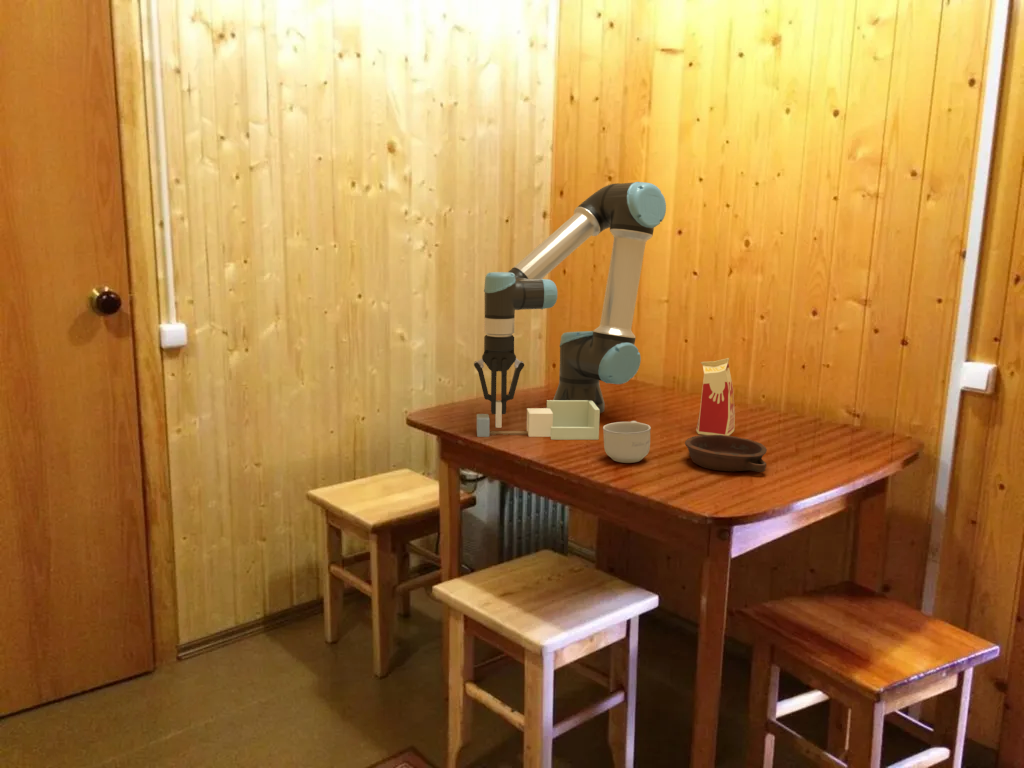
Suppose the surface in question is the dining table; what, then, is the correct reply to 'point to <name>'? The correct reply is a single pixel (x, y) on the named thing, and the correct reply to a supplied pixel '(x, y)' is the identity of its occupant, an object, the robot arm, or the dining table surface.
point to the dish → (726, 453)
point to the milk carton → (716, 400)
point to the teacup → (627, 441)
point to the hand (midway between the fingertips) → (498, 426)
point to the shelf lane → (574, 419)
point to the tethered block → (536, 424)
